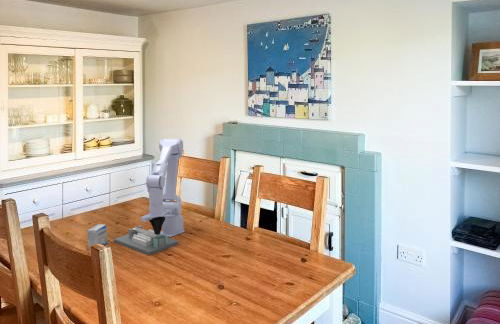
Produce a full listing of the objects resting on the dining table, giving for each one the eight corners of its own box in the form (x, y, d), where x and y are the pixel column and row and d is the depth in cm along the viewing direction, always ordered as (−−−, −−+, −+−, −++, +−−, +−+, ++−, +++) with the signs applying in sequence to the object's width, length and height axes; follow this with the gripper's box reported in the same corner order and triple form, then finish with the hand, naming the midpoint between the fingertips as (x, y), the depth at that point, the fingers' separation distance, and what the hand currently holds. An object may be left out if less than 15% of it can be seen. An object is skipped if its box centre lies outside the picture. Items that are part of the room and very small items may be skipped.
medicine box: (97, 250, 179) (96, 230, 177) (88, 249, 180) (86, 229, 178) (107, 243, 187) (106, 224, 185) (98, 242, 188) (97, 223, 186)
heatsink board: (143, 232, 201) (142, 220, 200) (178, 244, 186) (178, 231, 185) (113, 242, 188) (113, 229, 187) (149, 255, 174) (148, 242, 173)
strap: (131, 230, 190) (131, 228, 189) (137, 228, 192) (137, 226, 192) (157, 240, 179) (156, 237, 179) (163, 237, 182) (163, 234, 182)
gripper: (148, 208, 171) (149, 240, 173) (175, 200, 182) (176, 231, 185) (137, 205, 175) (138, 237, 178) (164, 198, 186) (165, 228, 189)
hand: (157, 234), depth 181 cm, fingers closed
